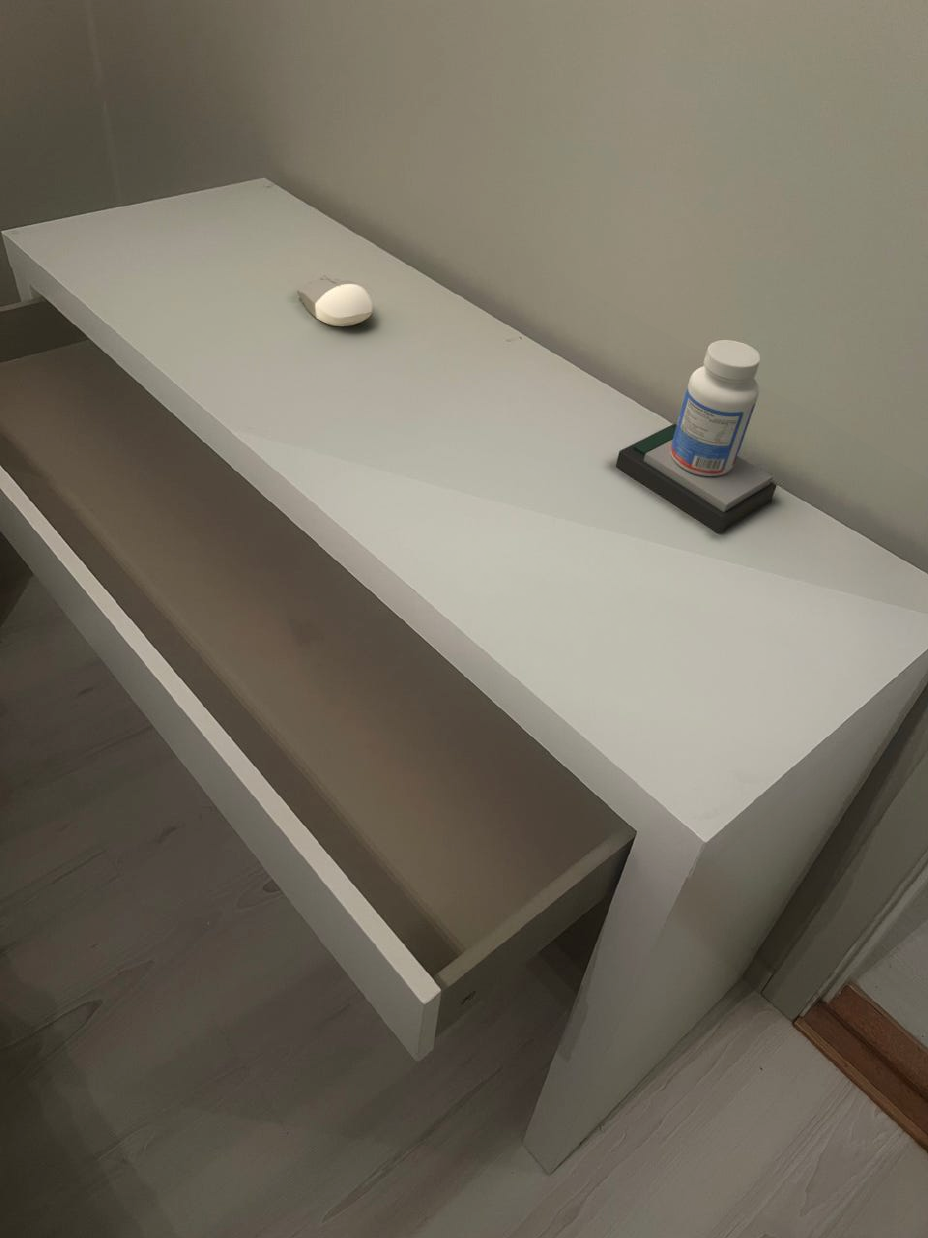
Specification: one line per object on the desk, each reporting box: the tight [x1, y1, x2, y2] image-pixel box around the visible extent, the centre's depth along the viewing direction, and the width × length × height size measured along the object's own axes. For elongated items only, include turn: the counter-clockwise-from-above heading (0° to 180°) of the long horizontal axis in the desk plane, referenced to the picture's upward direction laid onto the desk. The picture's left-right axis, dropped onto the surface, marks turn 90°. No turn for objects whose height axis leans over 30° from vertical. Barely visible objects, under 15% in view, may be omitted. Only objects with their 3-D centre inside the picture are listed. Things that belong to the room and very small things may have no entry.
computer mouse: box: [296, 275, 374, 327], centre depth 94 cm, size 6×10×3 cm, turn 32°
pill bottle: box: [671, 339, 761, 476], centre depth 74 cm, size 6×5×10 cm
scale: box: [615, 423, 778, 534], centre depth 78 cm, size 11×8×2 cm
